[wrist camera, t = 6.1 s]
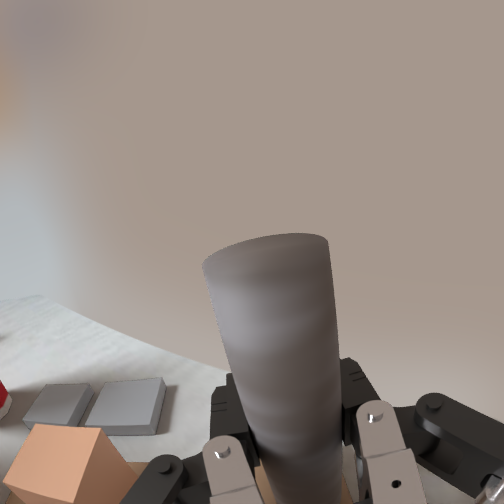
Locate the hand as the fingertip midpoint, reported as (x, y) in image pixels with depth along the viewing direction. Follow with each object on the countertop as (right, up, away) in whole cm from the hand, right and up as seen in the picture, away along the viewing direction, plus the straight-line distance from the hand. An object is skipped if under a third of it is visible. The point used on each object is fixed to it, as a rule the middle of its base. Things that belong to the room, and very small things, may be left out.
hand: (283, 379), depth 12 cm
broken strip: (-16, -9, +10) cm, 20 cm away
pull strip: (-7, -10, -1) cm, 12 cm away
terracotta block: (-10, -9, -1) cm, 14 cm away
